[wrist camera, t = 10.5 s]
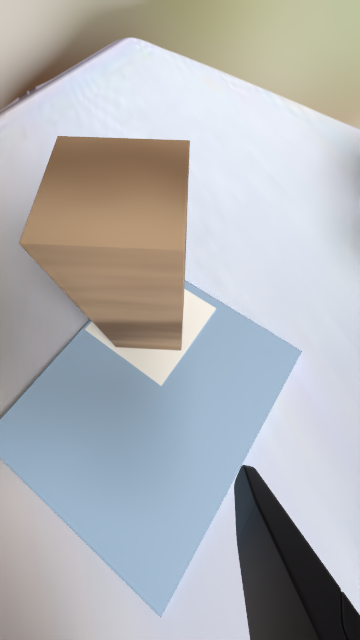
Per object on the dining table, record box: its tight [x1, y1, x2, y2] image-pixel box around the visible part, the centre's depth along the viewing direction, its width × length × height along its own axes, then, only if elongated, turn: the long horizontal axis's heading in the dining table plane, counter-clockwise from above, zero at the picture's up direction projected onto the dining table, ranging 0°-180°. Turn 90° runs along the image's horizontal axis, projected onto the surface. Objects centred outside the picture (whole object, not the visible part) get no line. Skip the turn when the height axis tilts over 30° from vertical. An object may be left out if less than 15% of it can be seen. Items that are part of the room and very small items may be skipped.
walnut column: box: [19, 136, 190, 350], centre depth 14 cm, size 5×5×12 cm
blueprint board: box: [0, 281, 302, 617], centre depth 17 cm, size 18×15×1 cm
